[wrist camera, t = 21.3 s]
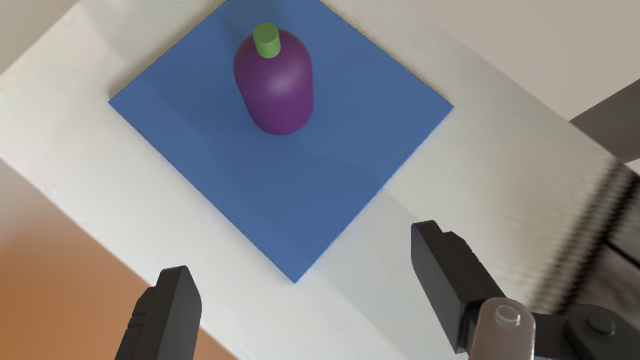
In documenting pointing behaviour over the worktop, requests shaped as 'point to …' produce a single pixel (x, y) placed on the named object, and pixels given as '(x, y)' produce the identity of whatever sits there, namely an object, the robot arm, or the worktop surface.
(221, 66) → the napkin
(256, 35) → the eggplant
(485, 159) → the worktop surface
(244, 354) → the worktop surface
